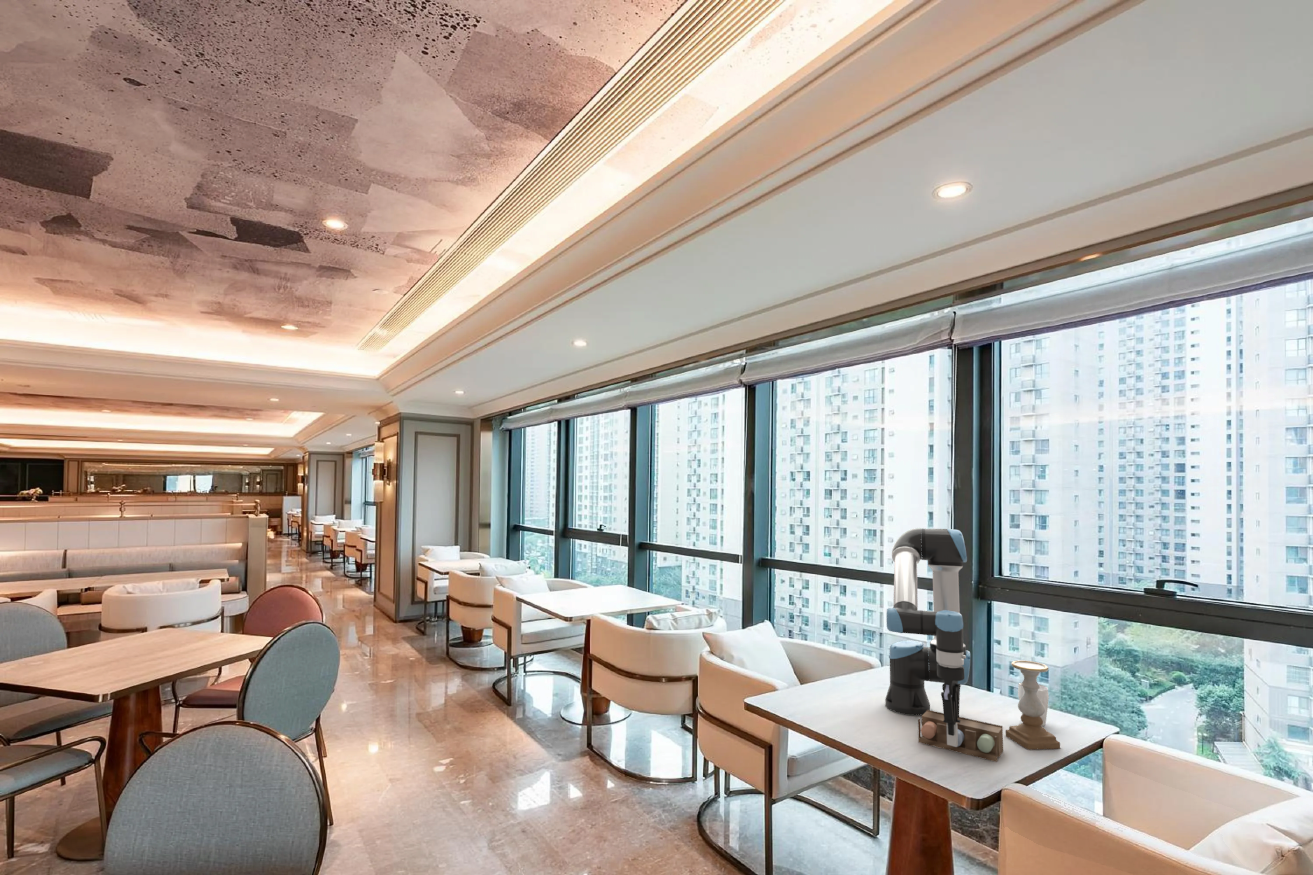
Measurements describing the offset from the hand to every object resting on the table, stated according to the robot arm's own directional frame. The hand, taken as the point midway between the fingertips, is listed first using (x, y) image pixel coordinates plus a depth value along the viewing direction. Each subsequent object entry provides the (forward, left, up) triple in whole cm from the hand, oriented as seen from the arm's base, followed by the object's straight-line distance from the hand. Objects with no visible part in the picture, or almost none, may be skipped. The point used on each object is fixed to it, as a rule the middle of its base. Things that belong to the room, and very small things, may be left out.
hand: (952, 744), depth 189 cm
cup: (+15, +46, -4) cm, 48 cm away
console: (0, +9, -3) cm, 9 cm away
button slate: (0, +4, -1) cm, 4 cm away
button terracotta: (-8, +5, -1) cm, 9 cm away
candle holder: (+17, +27, -4) cm, 32 cm away
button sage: (+8, +5, -1) cm, 10 cm away
